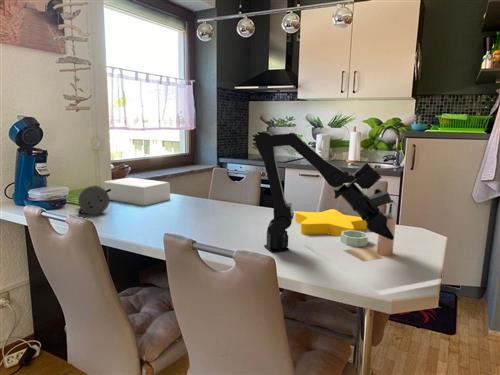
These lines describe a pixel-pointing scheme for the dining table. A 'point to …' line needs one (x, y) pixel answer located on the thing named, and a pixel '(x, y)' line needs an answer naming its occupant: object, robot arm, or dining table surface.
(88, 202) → the toy
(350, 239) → the bowl
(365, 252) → the board
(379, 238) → the peach cylinder with balls
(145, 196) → the box
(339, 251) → the dining table surface
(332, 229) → the star
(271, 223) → the robot arm
